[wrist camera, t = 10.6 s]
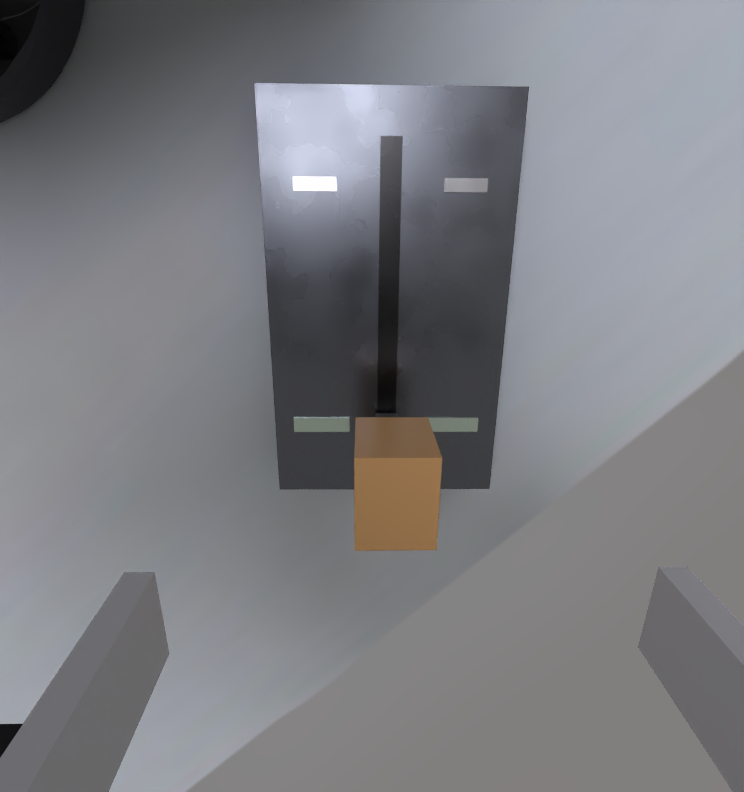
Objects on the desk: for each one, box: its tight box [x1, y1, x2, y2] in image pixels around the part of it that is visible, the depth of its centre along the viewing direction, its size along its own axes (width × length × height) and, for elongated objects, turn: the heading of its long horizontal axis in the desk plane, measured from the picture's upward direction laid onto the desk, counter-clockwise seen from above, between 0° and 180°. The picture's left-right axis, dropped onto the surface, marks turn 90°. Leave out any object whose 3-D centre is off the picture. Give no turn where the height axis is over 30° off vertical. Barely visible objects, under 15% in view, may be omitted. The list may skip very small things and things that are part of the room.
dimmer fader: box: [354, 413, 442, 551], centre depth 22 cm, size 4×3×8 cm
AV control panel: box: [254, 83, 529, 489], centre depth 25 cm, size 20×12×3 cm, turn 0°
